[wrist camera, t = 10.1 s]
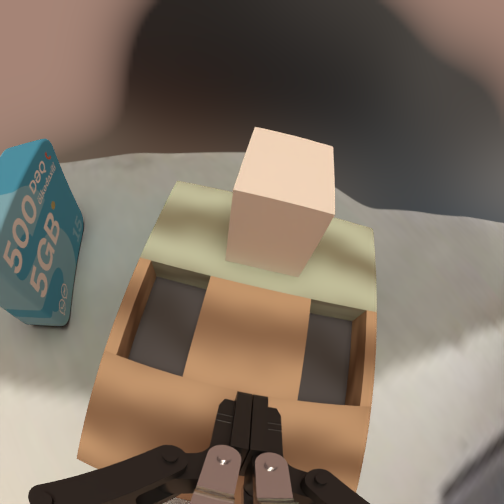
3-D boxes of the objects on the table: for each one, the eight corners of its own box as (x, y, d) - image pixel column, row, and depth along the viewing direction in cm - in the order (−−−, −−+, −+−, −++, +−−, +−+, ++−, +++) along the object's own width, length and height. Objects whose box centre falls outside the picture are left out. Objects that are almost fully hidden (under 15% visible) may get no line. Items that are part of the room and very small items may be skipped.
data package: (69, 331, 20) (-12, 263, 10) (32, 329, 19) (-50, 265, 9) (86, 220, 26) (48, 130, 16) (52, 224, 25) (9, 140, 15)
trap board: (335, 502, 15) (350, 511, 13) (92, 454, 15) (76, 458, 12) (360, 245, 29) (372, 228, 27) (179, 201, 29) (177, 180, 26)
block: (298, 277, 23) (334, 214, 16) (225, 260, 22) (233, 189, 16) (305, 212, 26) (332, 146, 20) (243, 197, 26) (255, 126, 20)
